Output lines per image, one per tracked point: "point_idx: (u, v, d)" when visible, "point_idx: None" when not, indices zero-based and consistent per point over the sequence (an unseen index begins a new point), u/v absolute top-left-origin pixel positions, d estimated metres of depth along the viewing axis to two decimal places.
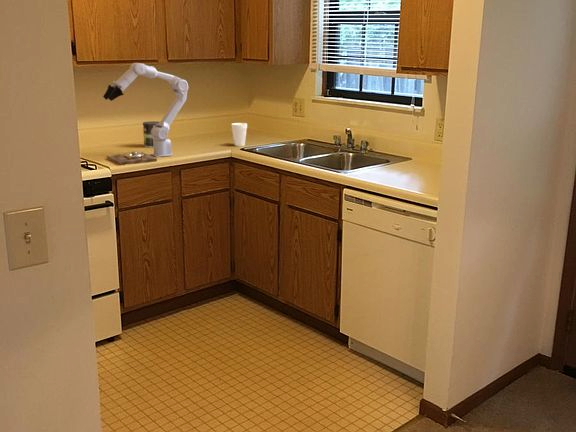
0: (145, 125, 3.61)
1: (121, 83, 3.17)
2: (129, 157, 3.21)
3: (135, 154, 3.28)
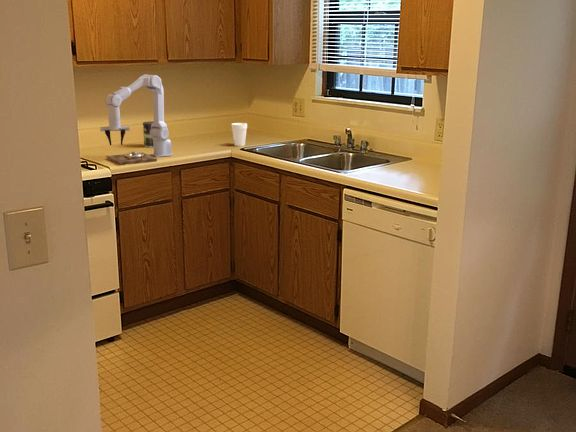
0: (145, 125, 3.61)
1: (120, 124, 3.15)
2: (129, 157, 3.21)
3: (135, 154, 3.28)
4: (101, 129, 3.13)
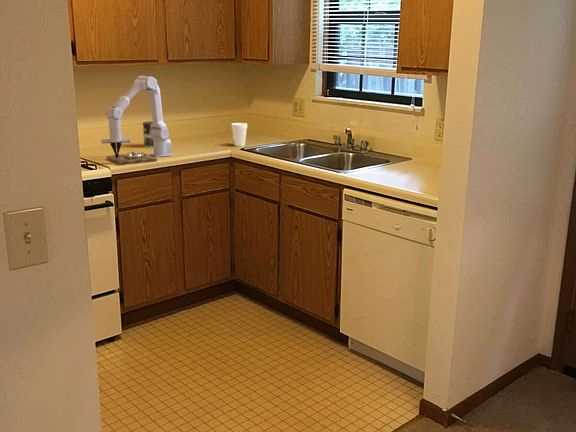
0: (145, 125, 3.61)
1: (120, 137, 3.17)
2: (129, 157, 3.21)
3: (135, 154, 3.28)
4: (102, 141, 3.15)
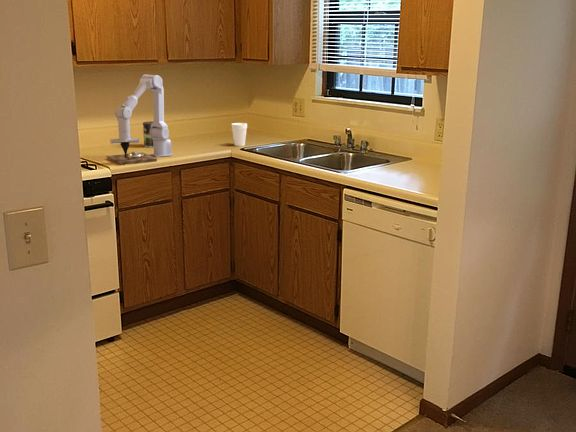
0: (145, 125, 3.61)
1: (129, 136, 3.18)
2: (129, 157, 3.21)
3: (135, 154, 3.28)
4: (111, 141, 3.16)
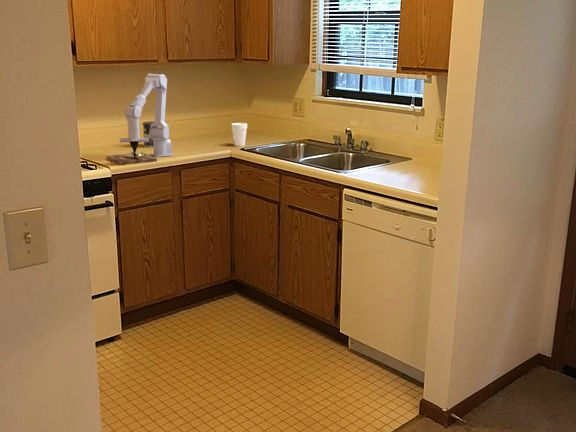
0: (145, 125, 3.61)
1: (139, 136, 3.19)
2: (139, 157, 3.22)
3: None
4: (120, 140, 3.17)
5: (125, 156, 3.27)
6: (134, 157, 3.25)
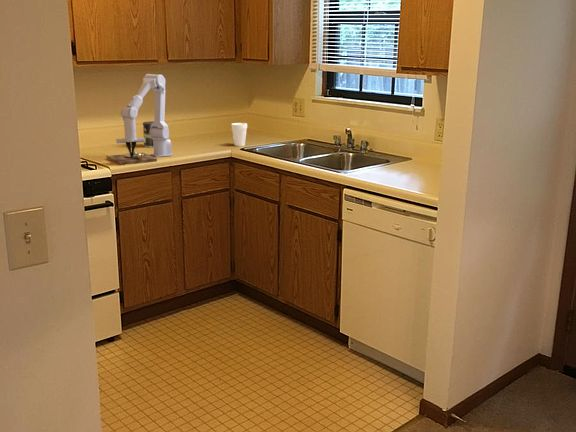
0: (145, 125, 3.61)
1: (135, 136, 3.18)
2: (140, 157, 3.22)
3: (136, 154, 3.29)
4: (117, 141, 3.17)
5: (125, 156, 3.26)
6: (135, 157, 3.25)
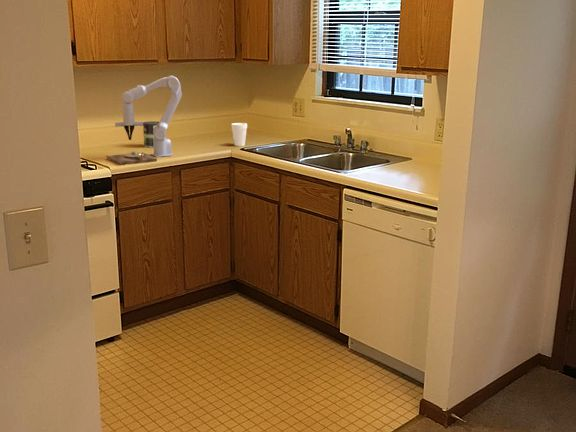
0: (145, 125, 3.61)
1: (133, 120, 3.31)
2: (140, 157, 3.22)
3: (136, 154, 3.29)
4: (116, 124, 3.29)
5: (125, 156, 3.26)
6: (135, 157, 3.25)
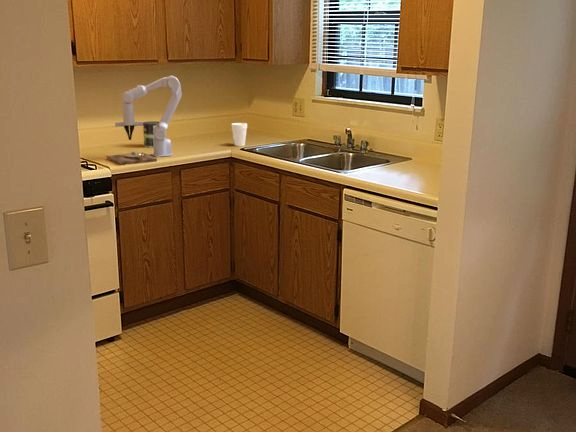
0: (145, 125, 3.61)
1: (133, 120, 3.31)
2: (140, 157, 3.22)
3: (136, 154, 3.29)
4: (116, 124, 3.29)
5: (125, 156, 3.26)
6: (135, 157, 3.25)
